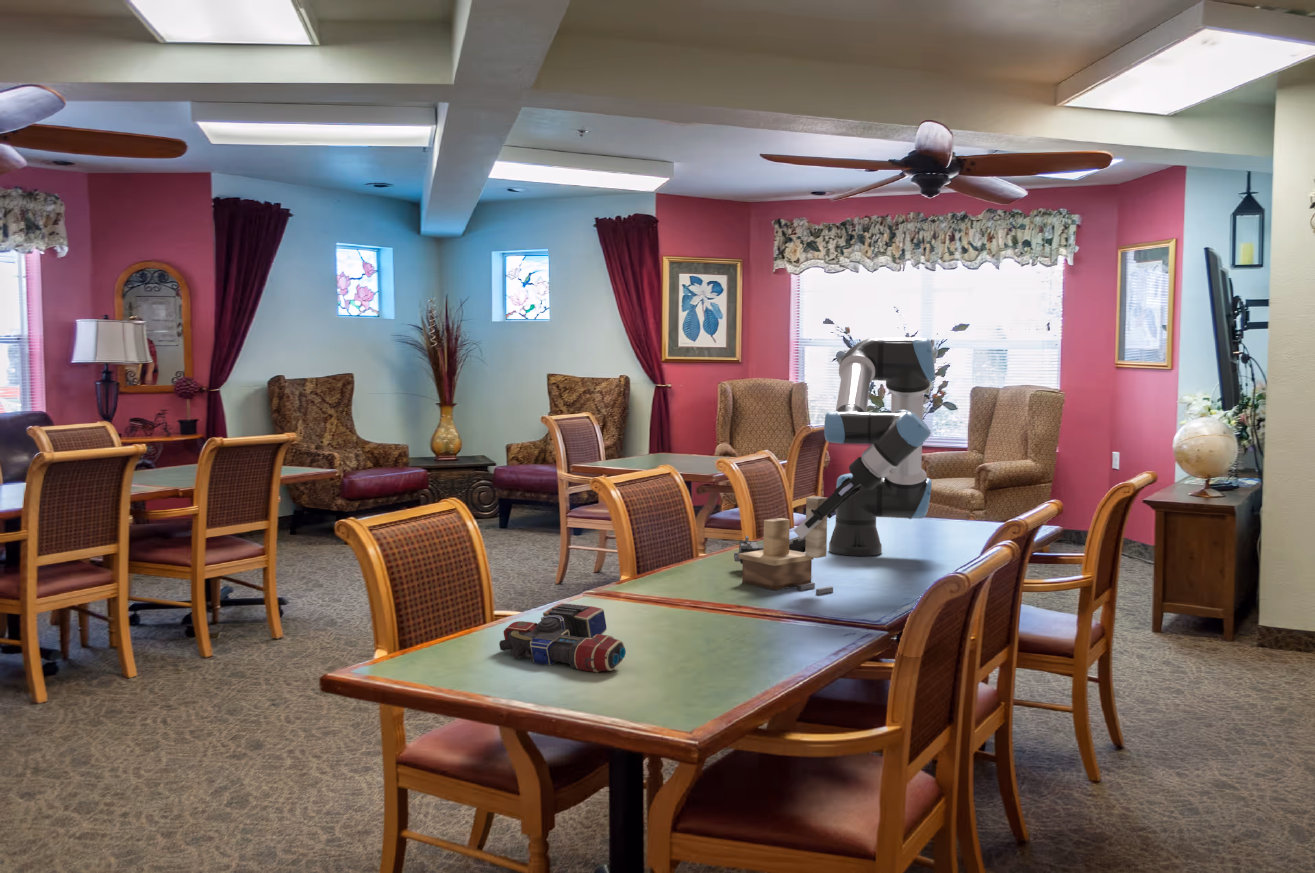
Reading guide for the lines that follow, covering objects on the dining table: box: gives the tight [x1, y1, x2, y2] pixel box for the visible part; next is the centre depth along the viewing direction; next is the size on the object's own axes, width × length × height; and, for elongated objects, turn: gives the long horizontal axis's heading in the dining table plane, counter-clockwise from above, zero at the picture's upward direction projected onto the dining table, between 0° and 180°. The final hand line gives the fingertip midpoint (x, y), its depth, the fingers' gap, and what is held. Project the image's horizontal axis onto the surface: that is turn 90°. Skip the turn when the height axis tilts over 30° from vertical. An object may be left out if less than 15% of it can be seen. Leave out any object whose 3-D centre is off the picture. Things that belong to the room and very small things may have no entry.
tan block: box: [804, 495, 829, 559], centre depth 234 cm, size 4×4×14 cm
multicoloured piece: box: [499, 602, 627, 673], centre depth 181 cm, size 8×25×20 cm
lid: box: [739, 517, 815, 566], centre depth 244 cm, size 14×12×10 cm
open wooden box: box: [741, 559, 813, 591], centre depth 244 cm, size 13×11×6 cm
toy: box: [733, 535, 806, 565], centre depth 259 cm, size 7×21×10 cm, turn 89°
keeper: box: [791, 581, 834, 596], centre depth 237 cm, size 5×10×1 cm, turn 40°
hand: (801, 532), depth 236 cm, fingers closed on tan block, 5 cm apart
